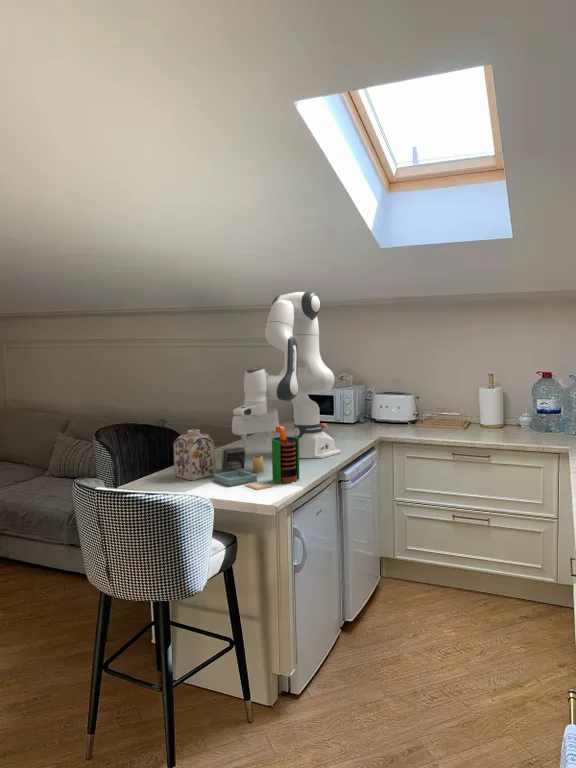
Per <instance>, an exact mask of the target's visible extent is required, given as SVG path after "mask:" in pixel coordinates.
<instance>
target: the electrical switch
mask: <svg viewBox="0 0 576 768" xmlns="http://www.w3.org/2000/svg"><path fill="white" fill-rule="evenodd" d="M221 452H222V454H221V470H225V471H227V465H226V462H232V461H237V462H241V468H243V469H244V468H245V459H246V446H244V445H239V446H238V445H237V446H229V447H223V448H222V451H221Z"/></svg>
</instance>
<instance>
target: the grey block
mask: <svg viewBox="0 0 576 768" xmlns="http://www.w3.org/2000/svg"><path fill="white" fill-rule="evenodd" d="M226 465H227V470H226V472H230V471H235V470H242V469H241V462H237V461H232V462H226Z"/></svg>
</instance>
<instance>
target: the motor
mask: <svg viewBox="0 0 576 768" xmlns="http://www.w3.org/2000/svg"><path fill="white" fill-rule="evenodd" d="M275 433H279V436H276V437H272V438H271V462H272V463H271V465H272V466H271V468H272V470H271V471H272V482H273V483H274V484H276V483H277V485H281V484H284V483H288V484H293V483H292V482H294V483H296V482H297V481H298V480H297V479H299V480H300V458H299V438H298V437H295V436H289V435H288V436H287V434H286V429H285V426H283V425H279V426H278V427H276V431H275Z"/></svg>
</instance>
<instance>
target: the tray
mask: <svg viewBox="0 0 576 768" xmlns="http://www.w3.org/2000/svg"><path fill="white" fill-rule="evenodd" d="M213 482H216V483H217V482H218V483H217V484H221V485H223V486H226V487H229V488H231V487H237V486H242V485H246V484H251V483H256V482H258V474H257V473H254V472H253V473H252V472H249V471H246V470H242V469H241V470H235V471H230V472H227V471H225V472H220V473H216V474H214V476H213Z"/></svg>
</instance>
